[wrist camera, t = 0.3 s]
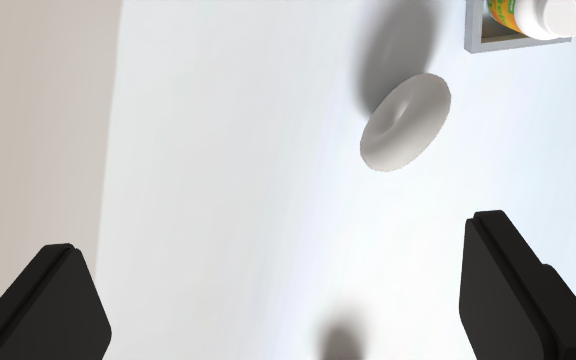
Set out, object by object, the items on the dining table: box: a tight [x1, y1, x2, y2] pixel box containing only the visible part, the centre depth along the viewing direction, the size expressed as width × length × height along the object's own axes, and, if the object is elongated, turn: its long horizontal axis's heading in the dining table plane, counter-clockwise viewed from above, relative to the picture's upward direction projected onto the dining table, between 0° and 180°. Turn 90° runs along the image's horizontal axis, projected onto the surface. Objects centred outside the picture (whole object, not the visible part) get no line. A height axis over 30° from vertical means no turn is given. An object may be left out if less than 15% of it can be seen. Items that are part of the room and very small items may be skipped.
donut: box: [360, 73, 451, 172], centre depth 42 cm, size 10×4×10 cm, turn 144°
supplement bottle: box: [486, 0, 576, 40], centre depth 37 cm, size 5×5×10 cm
